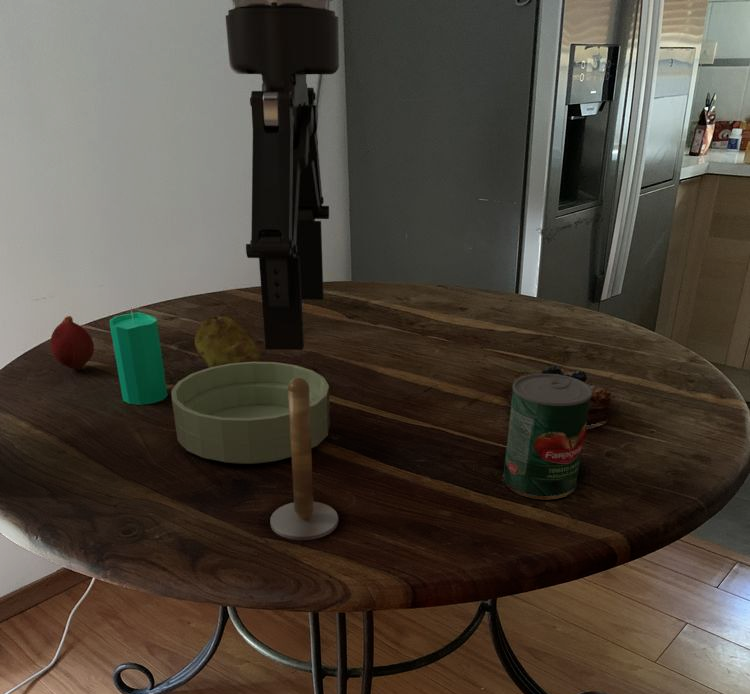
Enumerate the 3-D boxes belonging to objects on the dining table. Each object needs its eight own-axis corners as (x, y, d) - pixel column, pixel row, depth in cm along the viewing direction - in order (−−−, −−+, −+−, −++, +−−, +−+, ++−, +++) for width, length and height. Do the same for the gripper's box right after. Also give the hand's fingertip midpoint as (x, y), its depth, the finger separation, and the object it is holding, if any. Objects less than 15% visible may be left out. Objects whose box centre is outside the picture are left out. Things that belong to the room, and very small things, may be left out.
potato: (210, 396, 100) (204, 339, 96) (194, 365, 110) (188, 312, 106) (270, 388, 102) (266, 332, 98) (249, 359, 113) (244, 307, 109)
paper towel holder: (266, 553, 68) (253, 391, 60) (277, 516, 73) (267, 364, 65) (335, 555, 67) (332, 393, 59) (341, 519, 73) (339, 366, 65)
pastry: (543, 437, 89) (549, 392, 86) (496, 401, 99) (501, 359, 96) (619, 426, 93) (627, 382, 90) (567, 391, 102) (573, 351, 99)
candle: (128, 387, 102) (113, 301, 96) (172, 387, 102) (160, 301, 96) (117, 404, 97) (100, 314, 91) (163, 404, 97) (149, 314, 91)
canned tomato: (558, 508, 75) (574, 409, 69) (489, 486, 79) (499, 390, 73) (587, 478, 81) (603, 384, 75) (521, 459, 84) (532, 368, 79)
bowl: (158, 466, 82) (150, 417, 79) (199, 403, 98) (194, 359, 95) (320, 471, 81) (319, 422, 78) (335, 406, 97) (335, 363, 94)
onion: (65, 380, 104) (53, 325, 100) (49, 369, 108) (37, 315, 104) (104, 370, 108) (94, 316, 104) (87, 360, 111) (77, 308, 107)
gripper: (316, -13, 38) (328, 376, 49) (351, 18, 59) (354, 283, 70) (173, -13, 38) (216, 374, 49) (259, 18, 60) (276, 282, 70)
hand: (297, 321), depth 60 cm, fingers open, 13 cm apart
